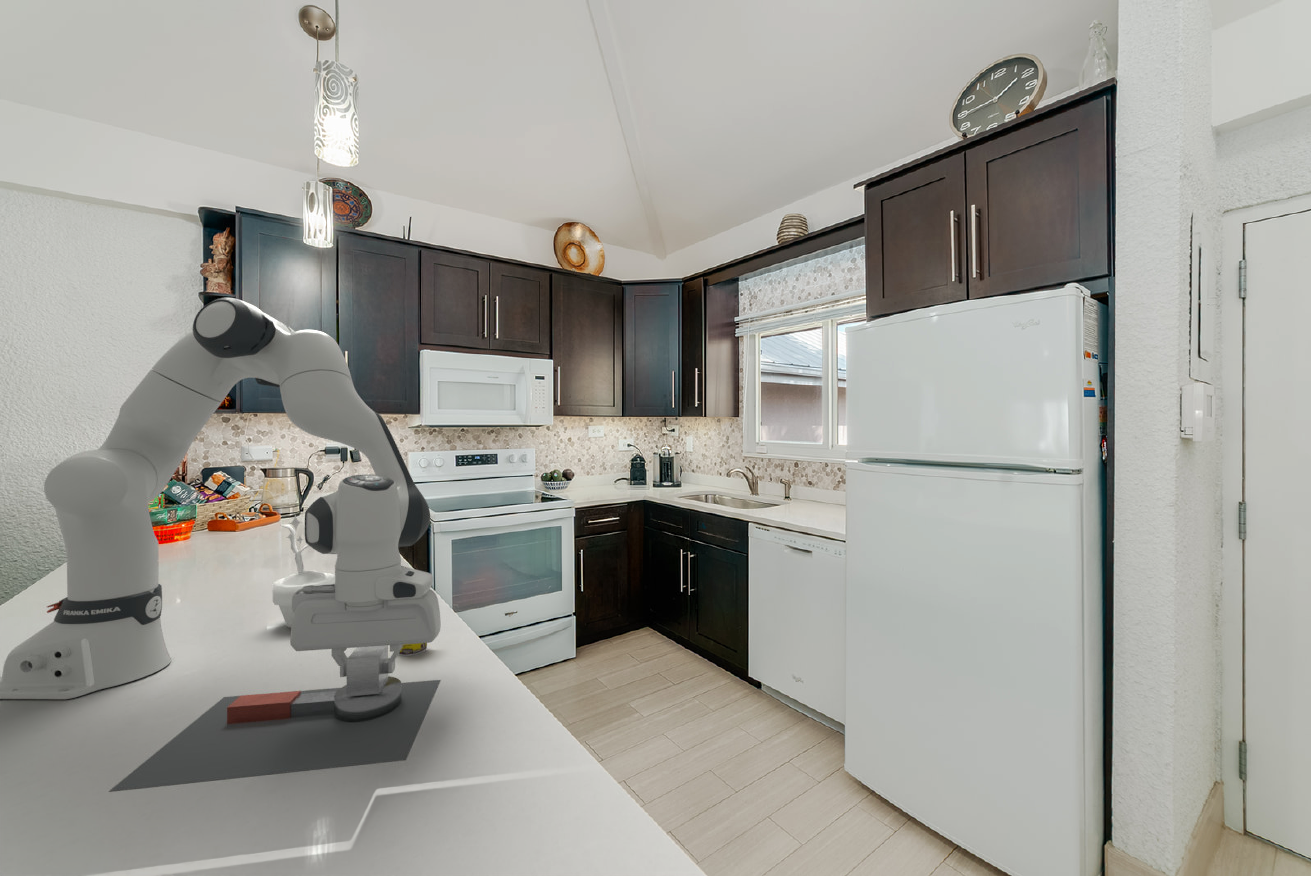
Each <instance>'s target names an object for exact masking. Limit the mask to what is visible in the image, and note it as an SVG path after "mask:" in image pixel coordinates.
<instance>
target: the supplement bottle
mask: <svg viewBox="0 0 1311 876" xmlns="http://www.w3.org/2000/svg"><path fill="white" fill-rule="evenodd" d="M427 647H428V643H417V644H403V647H402V649H401V650H400V652H399V654H398V655H397V656H401V657H407V656H413V655H418V654H420V653H423V652H426V651H427Z"/></svg>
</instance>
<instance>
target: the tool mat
mask: <svg viewBox="0 0 1311 876" xmlns="http://www.w3.org/2000/svg"><path fill="white" fill-rule="evenodd" d="M401 683H402V700H401V703H400V705H399V706H398V707H397V708H396V709H395V710H393V711H392V712H390V713H388V714H386V715H384V716H382V717H379V718H376V719H372V720H368V721H363V722H343V721H340V720H338V719H336V718H335V716H334V714H328V715H317V716H306V717H294V718H290V719H280V720H268V721H257V722H246V723H234V724H227V707H228V706H229V705H230V704H232V703H233V702H234V701H235V700H236V699H237V698H239V697H240V696H241V695H231V696H223V697H222V698H221V699H220V700H218V701H217V702H216V703H215V704H214V705H212V706H211V707H210V708H209V709H207V710H206V711H205V712H204V713H202V715H200V716H199V717H198V718H196V719H195V720H194V721H193V722H192V723H190V724H189V725H188V726H187V727H186V728H184V729H183V730H182V731H181V732H179V733H178V734H177V735H176V736H175V737H173V738H171V740H169V741H168V742H167V743H166V744H165V745H164V746H162V747H160V749H159V750H157V751H156V752H155V753H154V754H153V755H151V756H150V757H148V759H147V760H144V762H143V763H142V764H140V765H139V766H138V767H137V768H136V769H134V770H133V771H132V772H131V773H129V774H128V775H127V776H125V777H124V778H123V779H122V780H121V781H120V782H118V783H117V784H115V786H113V787H112V788H111V789H109V791H108V792H110V793H111V792H121V791H128V790H139V789H148V788H158V787H166V786H177V785H186V784H193V783H194V784H195V783H204V782H212V781H221V780H222V781H223V780H230V779H231V780H233V779H240V778H242V779H243V778H250V777H251V778H252V777H261V776H262V777H263V776H270V775H278V774H286V773H287V774H289V773H298V772H307V771H315V770H316V771H317V770H318V771H319V770H325V769H336V768H337V769H338V768H345V767H353V766H354V767H355V766H364V765H374V764H381V763H392V762H401V761H406V760H407V758H408V756H409V753H410V751H411V749H412V746H413V744H414V742H415V740H416V737H417V736H418V733H419V730H420V729H421V727H422V724H423V722H424V719H425V717H426V715H427V712H428V710H429V708H430V705H431V704H432V701H433V699H434V697H435V694H436V692H437V689H438V688H439V685H440V683H441V679H435V680H434V679H433V680H431V679H430V680H419V681H408V682H401ZM340 688H341V687H334V688H321V689H320V688H319V689H309V690H300V691H301V694H307V693H320V692H332V691H338V690H339V689H340Z"/></svg>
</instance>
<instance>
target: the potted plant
mask: <svg viewBox="0 0 1311 876" xmlns="http://www.w3.org/2000/svg"><path fill="white" fill-rule="evenodd" d="M301 523H302V521H300V520H298V519H297V515H296V513H295V514H294V518H293V520H292V521H291V522H289V523H287V524H280V526H281V527H283V528H286V529H288V530H289V535H288V536H286V538H288V539H289V541H290V550H292V552H293V553H294V555H295V557H294V562H295V564H296V567H297V573H294V574H288V575H287V576H286V577H283V578H278V579H277V580H275V581H273V582H272V603H273V604H274V606H278V607H279V610H280V613H281V614H282V617H283V620H284V622H285V624H286V626H287V627H288V628H290V629H291V628H292V622H293V617H294V613H293V611H292V597H293V595H294V594H295V592H296V591H298V590H300V589H302V588H303V587H304V586H308V585H314V586H320V585H329V584H335V573H329V572H320V571H318V570H317V569H316V570H311V569H310V570H307V569H306V570H304V568H305V566H304V562H303V557H302V556H303V555H302V553H303V551H305V549H307V548H308V547H310V546H309V545H308V544H307V543H306V544H305V545H304V546H302V548H301V549H300V550H299V549H298V546H297V541H298V542H299V544H301V542H302V541H303V540H304V538H302V537H301V536H299V537H298V539H296V537H297V536H296V531H297V530H298V526H299V525H300V524H301ZM300 593H303V591H302V592H300Z"/></svg>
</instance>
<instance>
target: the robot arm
mask: <svg viewBox="0 0 1311 876" xmlns="http://www.w3.org/2000/svg"><path fill="white" fill-rule="evenodd" d="M350 371H351V370H350V369H349V366H348V362H347V361H346V358H345V356H344V354H343V351H342V349H341V348H340V346H339V344H338V342H337V341H336V340H335V339H334V337H332V336H330V335H329V334H328V333H325V332H323V331H320V330H315V329H300V330H297V331H296V330H294V329H293V328H291V327H290V326H289V325H287V324H285V323H284V322H282V321H279V320H277V319H276V318H274V317H272V316H270V315H269V314H267V313H265V312H263V311H262V310H261V309H259V307H257V306H255V305H253V304H251V303H249V302H246V301H244V300H241V299H238V298H235V297H221V298H220V297H219V298H217V299H214V300H212V301H209V303H207V304H205V305H204V306H203V307H201V309H199V311H198V312H197V313H196V315H195V317H194V320H193V324H192V331H190V332H188V333H187V334H186V335H185V336H183V337H181V339H179V340H178V341H177V342H176V343H175V344H173V346H171V347H169V349H168V350H167V351H166V352H165V353H164V354H163V355H162V356H161V357H160V358H159V359H158V360H157V361H156V362H155V364H154V365H153V366H152V368H151V369H150V370H149V371H148V372H147V374H146V375H145V376H144V377H143V379H142V380H141V381H140V382H139V384H137V386H136V387H135V388H134V390H133V391H132V392H131V393H130V395H129V396H128V398H126V400H125V401H124V402H123V404H122V405H121V406H120V409H119V411H118V412H119V413H118V416H117V418H116V421H115V423H114V425H113V427H112V428H111V430H110V433H109V434H108V436H107V438H106V439H105V440H104V442H103V443H102V445H101V446H100V447H99V448H97V449H91V450H87V451H82V452H79V453H75V454H73V455H71V456H69V457H67V458H66V459H64V460H63V461H61V462H59V464H57V465H56V466H54V467H53V468H52V469H51V470H50V471H49V473H48V474H47V476H46V478H45V480H44V484H43V490H44V494H45V497H46V499H47V500H48V502H49V503H50V504H51V505H52V507H54V511H55V514H56V517H57V521H58V526H59V529H60V531H61V535H62V538H63V542H64V547H65V554H66V586H67V587H66V588H67V589H66V590H67V591H66V593H67V597H64V598H62V599H61V600H59V601H58V602H55V603H53V604H50V605H47V606H46V608H49V609H48V610H47V611H46V614H49V613H51V612H55V611H57V612H56V614H55V615H54V618H53V621H52V622H51V623H49V624H47V625H46V626H45V627H44V628H42V629H41V630H39V631H37V632H35V633H34V634H33V635H32V636H30V637H28V638H26V640H24V641H23V642H21V643H19V644H18V645H17V646H16V647H14V648H12V650H10V652H9V653H8V655H7V656H6V659H5V660H4V664H3V668H2V675H1V677H0V700H68V699H69V700H70V699H73V698H77V697H82V696H84V695H87V694H90V693H93V692H95V691H99V690H102V689H108V688H111V687H115V686H120V685H123V684H126V683H129V682H134V681H135V680H139V679H142V678H145V677H148V676H149V675H152V674H154V673H156V672H158V671H160V670H162V669H164V668H165V667H167V666H169V664H170V663H171V661H172V657H171V656H170V655H171V654H170V653H169V651H168V648H167V645H166V642H165V638H164V633H163V628H162V620H161V616H162V610H163V589H162V588H163V586H162V585H161V584H160V583H159V540H158V539H157V536H156V535H155V532H154V529H153V524H152V520H151V514H150V510H149V509H150V508H149V502H152V501H153V500H155V499H156V498H157V497H158V496H159V495H160V494H161V493H162V492H163V491H164V490H165V489H166V486H167V485H168V484H169V482H170V480H171V479H172V478H173V476H174V475H175V472H176V471H177V469H178V468H179V466H180V465H181V464H182V461H183V460H184V458H185V456H186V455H187V453H188V451H189V449H190V448H191V446H192V444H193V442H194V440H195V439H196V438H197V436H198V435H199V433H200V432H201V431H202V429H203V428H204V427H205V426H206V424H207V423H208V421H209V420H210V418H211V417H212V416H213V415H214V413H215V412H216V411H217V409H218V408H219V407H220V406H221V404H222V403H223V401H225V399H226V397H227V396H228V394H229V393H230V391H231V390H232V388H234V387H235V385H236V384H237V383H238V382H240V381H242V380H244V379H247V378H248V379H249V378H252V379H253V378H254V379H255V381H256V383H257V384H258V385H260V386H261V385H262V386H268V387H269V386H270V387H275V388H278V389H279V390H280V391H279V392H280V395H281V402H282V405H283V408H284V411H285V413H286V416H287V417H288V419H289V420H290V422H291V423H292V424H293V425H295V426H296V427H297V428H299V429H300V430H301V431H303V432H305V433H307V434H309V435H311V436H313V437H314V436H315V437H318V438H319V439H320V438H321V439H325V440H328V441H329V440H330V441H333V442H337V443H339V444H342V445H344V446H345V445H346V446H348V447H349V448H350V447H351V448H352V449H355V450H357V451H358V452H361V453H362V454H363V455H364V456H365V457H366V458H367V460H368V461H369V463H370V465H371V469H372V470H373V472H374V474H354V475H350V476H347V477H344V478H343V479H342V480H341V481H340V482H339V484H338V487H337V490H336V491H333V492H332V493H329V494H327V495H324V496H320V497H318V498H317V499H315V501H313V502H312V503H311V504H310V505H309V507H308V508H307V509H306V510H305V512H304V540H305V543H306V545H307V544H308V545H309V546H308V547H310V548H312V549H313V550H315V551H316V552H318V553H319V554H322V555H336V561H335V564H334V575H335V584H329V585H320V586H314V585H308V586H304V587H303V588H302V589H300V590H298V591H296V592H295V594H294V595H293V597H292V611H293V613H294V617H293V622H292V628H290V637H289V638H290V639H289V640H290V642H289V644H290V646H291V647H292V649H293V650H295V651H296V652H305V651H306V652H307V651H322V650H331V657H332V658H333V660H334V662H335V663H336V664H337V665H338V667H339V677H340V678H347V658H348V656H347V654H346V653H345V651H346V650H347V649H351V648H352V649H353V648H354V649H356V648H357V647H370V646H386V645H388V646H389V652H391V653H392V654H391V656H390V657H388V658H386V659H385V660H384V661H383V663H382V674H388V675H389V674H393V673H394V671H395V670H396V659H397V657H398V656H399V655H398V654H399V652H400V650H401V649H402V647H403V644H417V643H427V644H429V643H432V642H434V641H435V640H436V638H437V637H438V635H439V634H440V631H441V626H442V625H441V612H440V611H441V610H440V605H439V599H438V596H437V594H436V593H435V591H434V590H432V589H431V588H432V586H433V582H434V581H433V580H434V577H433V574H431V573H430V572H427V571H423V570H419V569H415V568H410V567H408V566H403V565H402V557H401V553H400V551H399V548H401V547H411V546H413V545H414V544H415V543H417V542H418V541H419V540H420V539H421V538H422V537H423V535H424V534H425V533H426V531H427V530H428V529H429V526H430V523H431V512H430V508H429V504H428V502H427V500H426V499H425V497H424V495H423V494H422V493H421V492H422V491H420V489H419V488H418V487H417V485H416V484H415V482H414V480H413V477H412V475H411V473H410V472H409V470H408V469H409V468H408V466H407V465H406V463H405V461H404V459H403V456H402V454H401V451H400V449H399V447H398V445H397V443H396V441H395V439H394V437H393V435H392V433H391V430H390V428H389V426H388V425H387V423H386V422H385V420H384V418H383V416H381V415H380V413H378V412H376V411H375V410H373V409H372V408H370V406H368V405H367V404H366V403H365V401H364V400H363V399H362V398H361V396H360V395H359V394H358V391H357V390H356V388H355V386H354V383H353V379H352V375H351V372H350ZM302 591H303V593H300V592H302ZM51 607H52V608H51Z"/></svg>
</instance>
